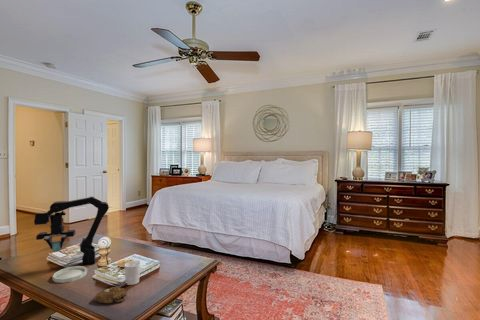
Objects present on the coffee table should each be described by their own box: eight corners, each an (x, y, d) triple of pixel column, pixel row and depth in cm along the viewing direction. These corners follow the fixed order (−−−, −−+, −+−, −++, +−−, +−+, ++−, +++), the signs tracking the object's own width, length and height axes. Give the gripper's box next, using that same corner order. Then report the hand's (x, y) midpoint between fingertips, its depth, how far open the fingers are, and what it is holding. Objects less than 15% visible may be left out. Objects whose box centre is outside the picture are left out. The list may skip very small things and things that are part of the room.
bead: (62, 248, 160) (61, 240, 159) (59, 251, 155) (59, 242, 155) (53, 249, 158) (53, 241, 158) (51, 252, 154) (51, 243, 154)
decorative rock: (133, 294, 130) (104, 293, 131) (133, 285, 130) (104, 285, 132) (121, 306, 119) (90, 305, 120) (121, 297, 119) (90, 296, 120)
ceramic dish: (89, 267, 158) (89, 264, 158) (83, 279, 143) (83, 276, 143) (57, 271, 152) (57, 268, 152) (49, 284, 137) (49, 281, 137)
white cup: (143, 280, 144) (143, 262, 143) (133, 286, 136) (133, 268, 136) (131, 277, 146) (131, 260, 146) (121, 284, 139) (121, 265, 138)
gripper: (77, 218, 167) (77, 242, 168) (42, 221, 160) (42, 246, 161) (73, 222, 157) (73, 248, 157) (35, 225, 150) (36, 252, 150)
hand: (56, 248), depth 157 cm, fingers closed on bead, 4 cm apart
